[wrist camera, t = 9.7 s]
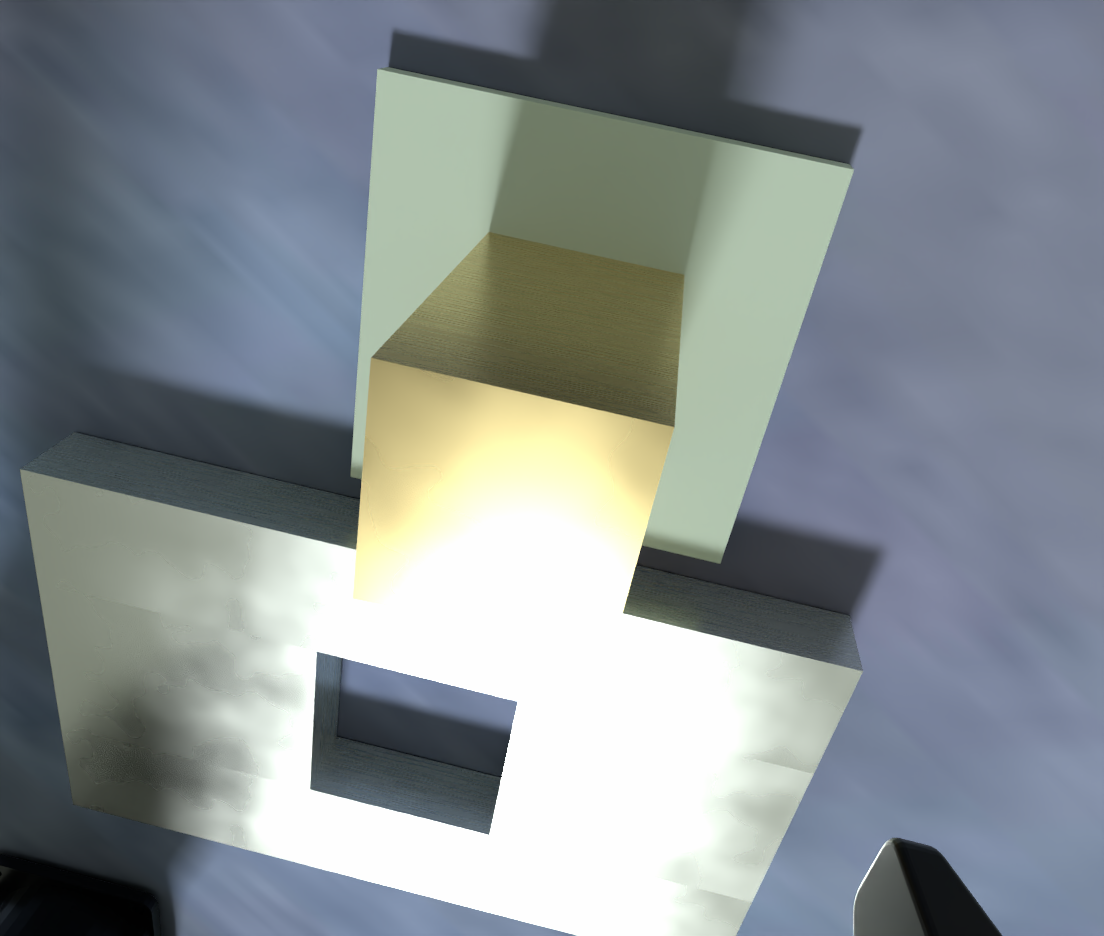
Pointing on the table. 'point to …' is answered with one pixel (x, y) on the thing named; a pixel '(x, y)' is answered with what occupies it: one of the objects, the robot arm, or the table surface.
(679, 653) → the aluminium plate
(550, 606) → the brass peg
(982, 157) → the table surface
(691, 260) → the sage mat
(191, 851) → the table surface
